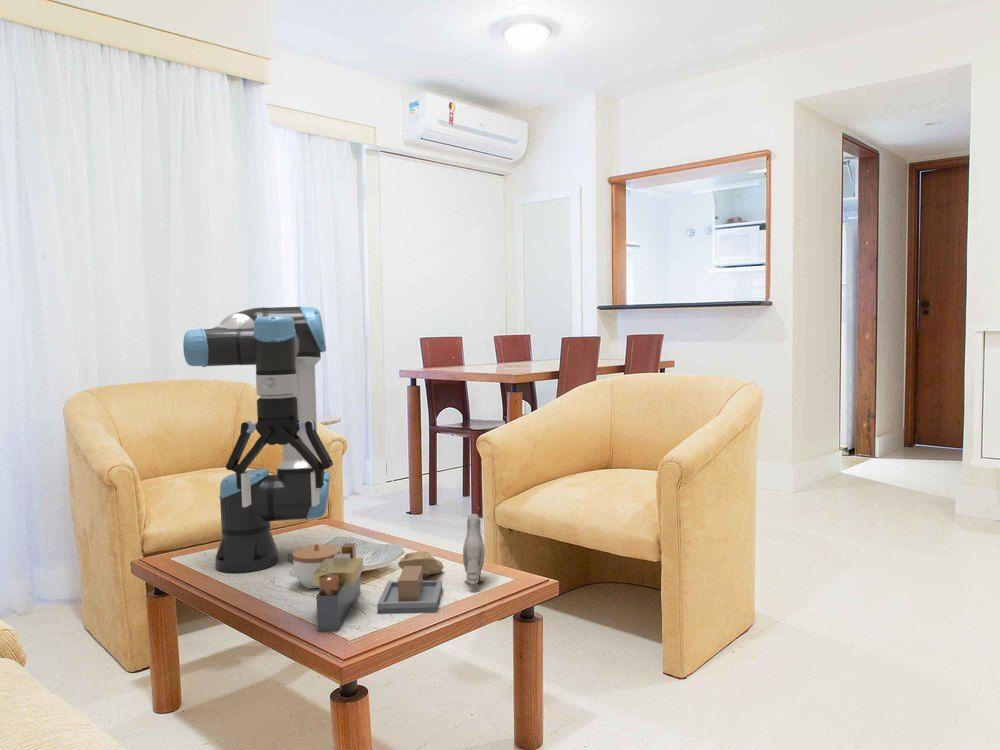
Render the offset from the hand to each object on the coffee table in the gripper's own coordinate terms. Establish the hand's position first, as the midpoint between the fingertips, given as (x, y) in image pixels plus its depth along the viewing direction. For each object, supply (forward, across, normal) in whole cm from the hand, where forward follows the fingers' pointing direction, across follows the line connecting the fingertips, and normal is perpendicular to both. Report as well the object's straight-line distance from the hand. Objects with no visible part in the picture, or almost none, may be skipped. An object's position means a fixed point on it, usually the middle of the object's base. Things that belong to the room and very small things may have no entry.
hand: (281, 505), depth 145 cm
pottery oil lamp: (+24, +23, +29) cm, 44 cm away
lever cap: (+17, +9, +8) cm, 21 cm away
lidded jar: (+24, -1, +25) cm, 35 cm away
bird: (+24, +35, +25) cm, 49 cm away
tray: (+24, +23, +14) cm, 36 cm away
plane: (+24, +9, +8) cm, 27 cm away
